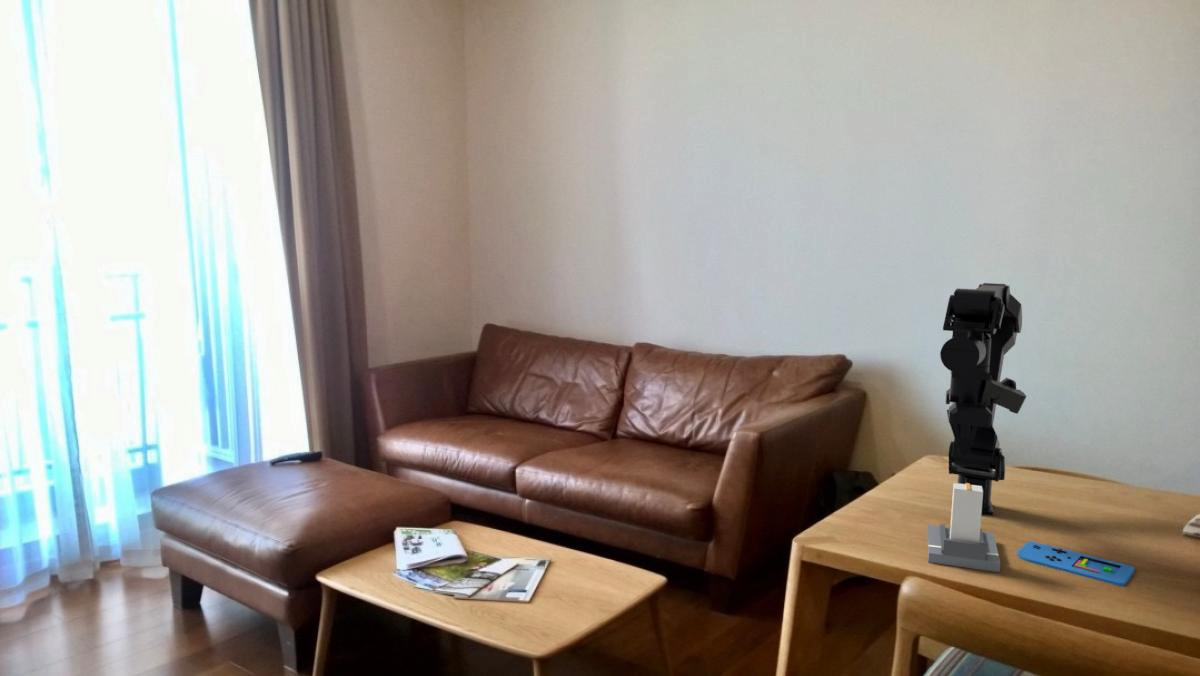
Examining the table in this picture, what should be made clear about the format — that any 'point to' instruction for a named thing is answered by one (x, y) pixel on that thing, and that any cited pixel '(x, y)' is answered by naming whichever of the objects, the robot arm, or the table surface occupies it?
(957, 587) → the table surface
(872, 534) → the table surface
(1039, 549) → the handheld gaming device
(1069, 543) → the table surface
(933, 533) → the grey socket base
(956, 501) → the grey upright block
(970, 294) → the robot arm
